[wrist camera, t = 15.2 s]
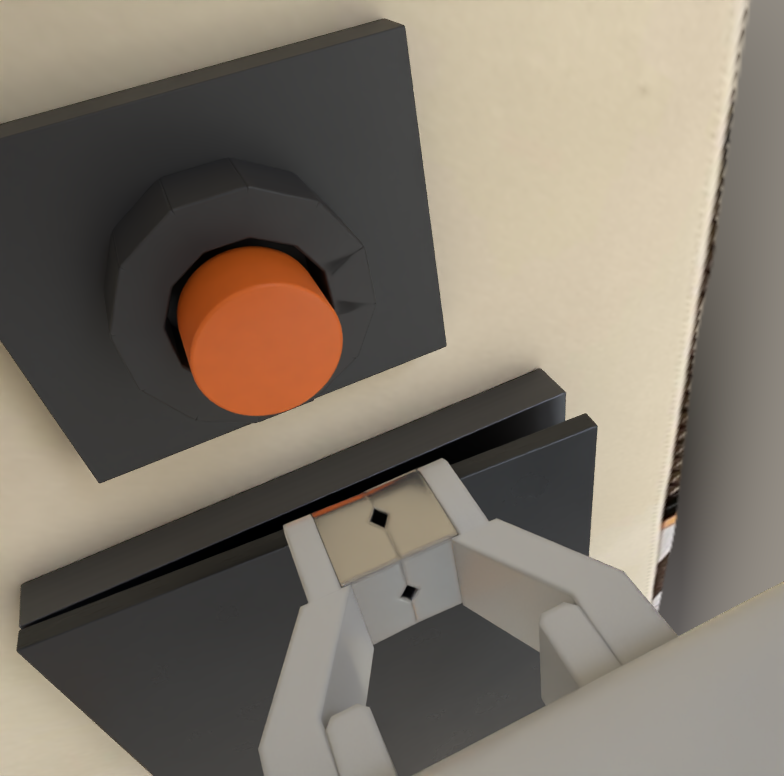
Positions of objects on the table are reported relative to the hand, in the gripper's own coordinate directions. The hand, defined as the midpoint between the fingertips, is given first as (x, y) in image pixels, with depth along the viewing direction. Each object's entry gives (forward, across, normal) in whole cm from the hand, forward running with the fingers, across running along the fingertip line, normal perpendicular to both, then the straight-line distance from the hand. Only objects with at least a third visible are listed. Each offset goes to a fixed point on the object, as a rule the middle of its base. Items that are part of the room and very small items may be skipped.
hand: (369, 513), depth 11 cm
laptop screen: (+8, +1, +24) cm, 25 cm away
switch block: (+10, 0, 0) cm, 11 cm away
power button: (+7, 0, 0) cm, 7 cm away
